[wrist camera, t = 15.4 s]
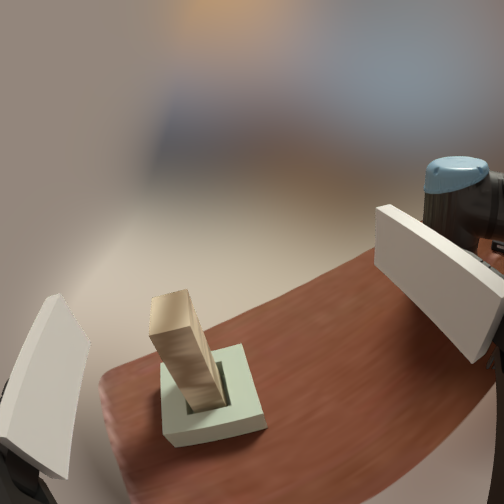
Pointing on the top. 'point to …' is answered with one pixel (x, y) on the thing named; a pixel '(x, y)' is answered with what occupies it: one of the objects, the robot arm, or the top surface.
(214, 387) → the wooden block
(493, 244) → the disk drive
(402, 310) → the top surface
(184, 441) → the end cap
